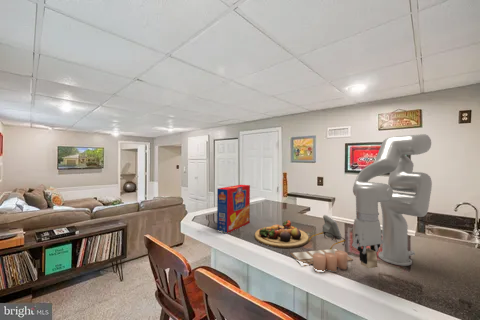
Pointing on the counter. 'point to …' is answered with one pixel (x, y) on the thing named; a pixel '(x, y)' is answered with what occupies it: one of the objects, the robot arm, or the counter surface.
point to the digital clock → (330, 227)
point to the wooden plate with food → (282, 236)
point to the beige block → (370, 259)
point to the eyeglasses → (332, 239)
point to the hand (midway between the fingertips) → (368, 260)
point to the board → (308, 255)
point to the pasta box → (233, 207)
